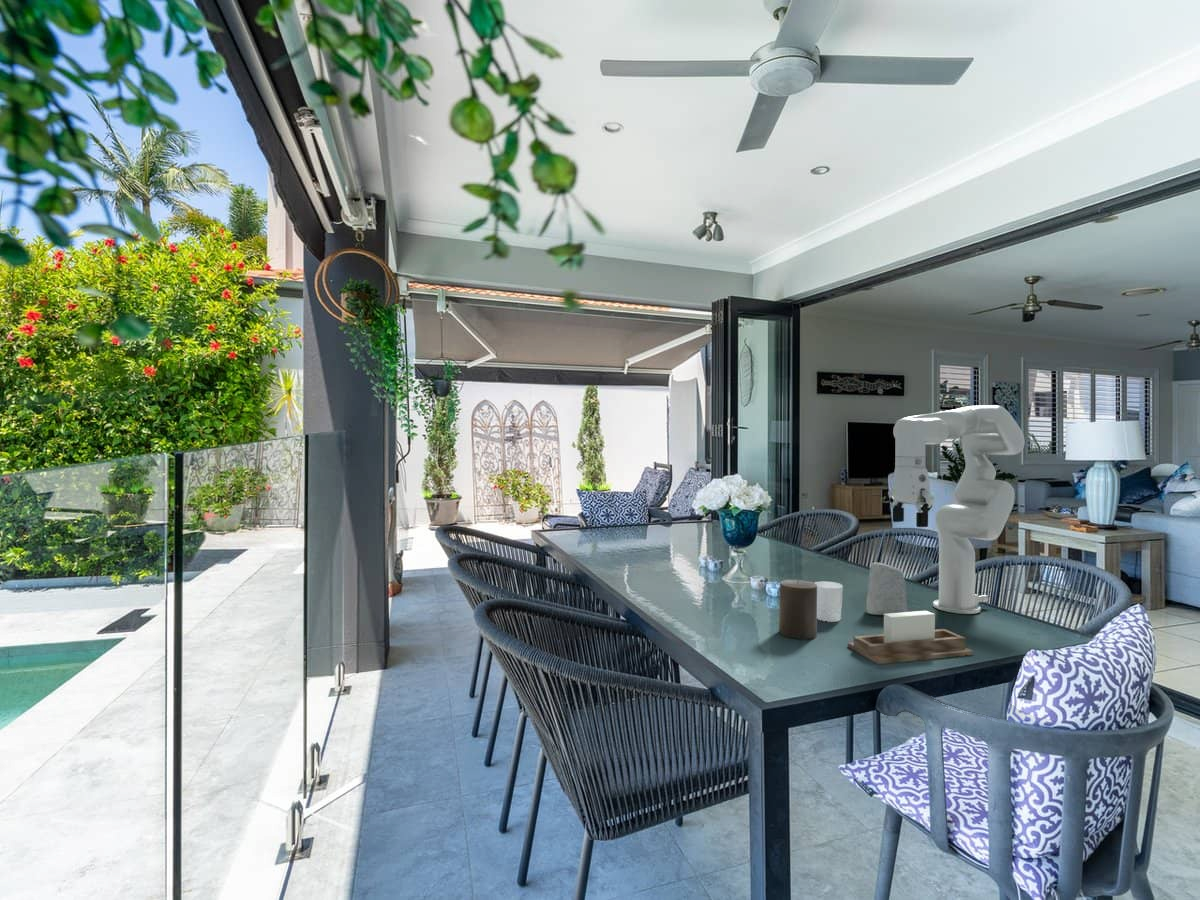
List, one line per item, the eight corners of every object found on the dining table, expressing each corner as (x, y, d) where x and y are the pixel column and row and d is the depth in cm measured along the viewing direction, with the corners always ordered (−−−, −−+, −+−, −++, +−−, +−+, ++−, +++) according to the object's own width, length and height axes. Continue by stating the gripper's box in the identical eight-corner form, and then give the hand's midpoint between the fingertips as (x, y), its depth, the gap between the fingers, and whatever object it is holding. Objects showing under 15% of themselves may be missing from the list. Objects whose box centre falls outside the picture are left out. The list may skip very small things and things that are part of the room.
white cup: (845, 623, 176) (845, 588, 176) (815, 622, 178) (815, 587, 177) (840, 615, 184) (840, 581, 183) (812, 614, 185) (812, 580, 185)
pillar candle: (798, 642, 161) (798, 584, 161) (771, 631, 170) (772, 576, 169) (824, 636, 166) (825, 580, 165) (797, 626, 174) (798, 573, 174)
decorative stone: (905, 612, 185) (905, 563, 185) (908, 618, 180) (908, 567, 179) (865, 609, 189) (865, 560, 188) (867, 615, 183) (867, 565, 183)
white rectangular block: (926, 641, 157) (926, 610, 157) (934, 645, 154) (934, 614, 154) (883, 645, 155) (883, 613, 154) (891, 649, 152) (891, 617, 151)
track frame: (937, 638, 163) (937, 625, 162) (973, 655, 151) (973, 641, 151) (847, 646, 157) (847, 633, 157) (877, 664, 146) (877, 649, 146)
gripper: (945, 464, 165) (944, 528, 166) (901, 461, 182) (901, 519, 183) (920, 465, 164) (919, 529, 164) (878, 461, 181) (878, 520, 181)
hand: (909, 524), depth 174 cm, fingers open, 9 cm apart
